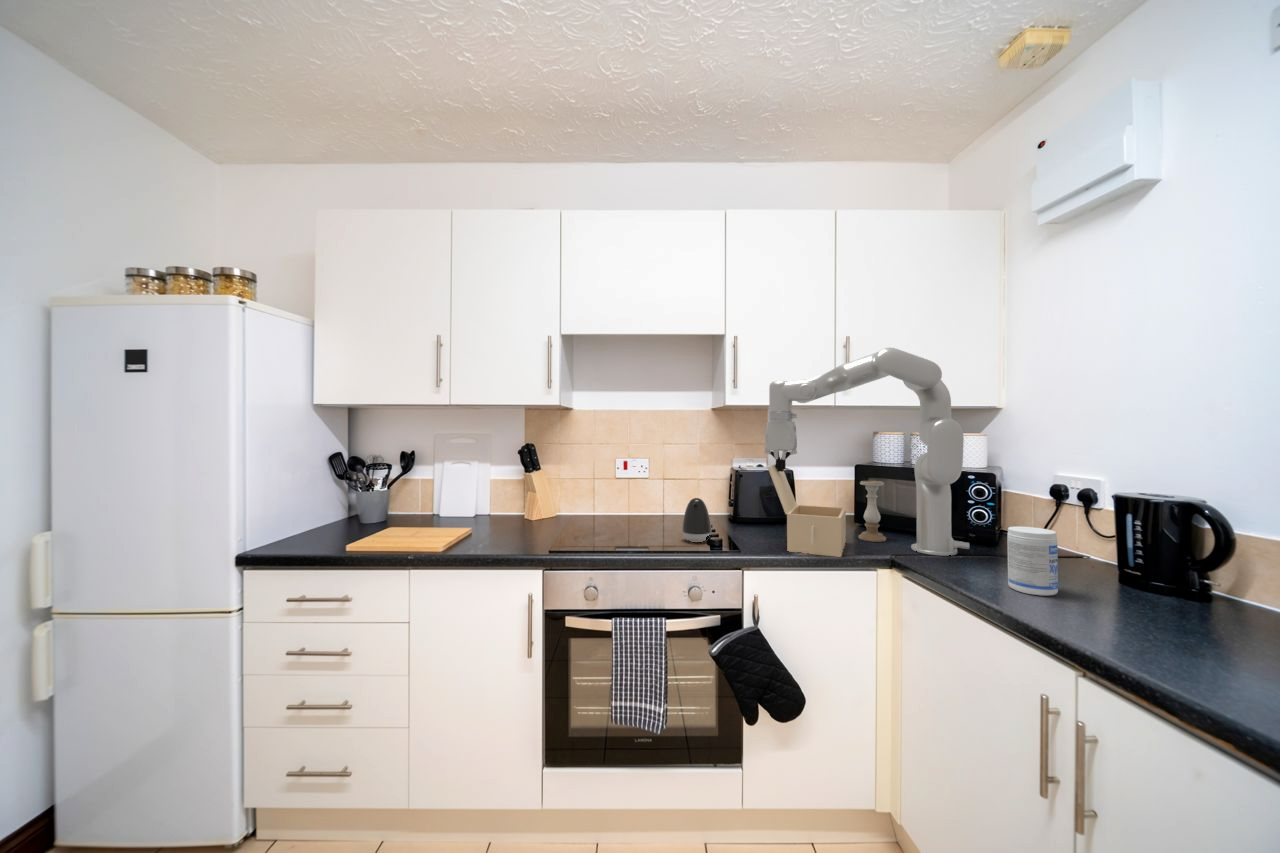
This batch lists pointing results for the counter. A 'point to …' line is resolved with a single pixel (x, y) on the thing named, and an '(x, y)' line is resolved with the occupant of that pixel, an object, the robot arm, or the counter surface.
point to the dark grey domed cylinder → (696, 521)
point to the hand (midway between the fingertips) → (780, 471)
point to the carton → (816, 530)
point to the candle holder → (872, 514)
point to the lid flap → (782, 489)
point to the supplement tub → (1032, 560)
